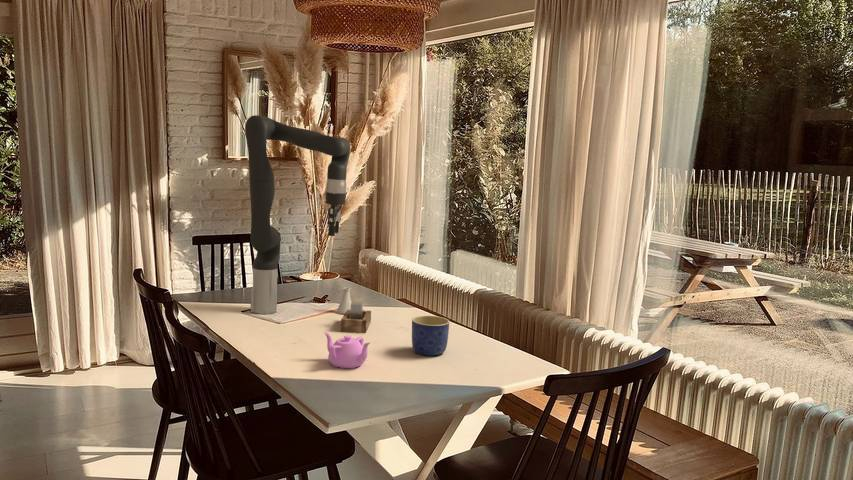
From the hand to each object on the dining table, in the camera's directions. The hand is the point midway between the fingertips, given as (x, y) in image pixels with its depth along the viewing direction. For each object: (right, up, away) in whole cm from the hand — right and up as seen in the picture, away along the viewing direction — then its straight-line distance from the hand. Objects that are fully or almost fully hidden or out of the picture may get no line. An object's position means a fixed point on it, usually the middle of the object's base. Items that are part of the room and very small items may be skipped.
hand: (333, 234), depth 264 cm
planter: (+36, -40, -30) cm, 61 cm away
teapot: (+10, -41, -46) cm, 62 cm away
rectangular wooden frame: (+9, -34, -5) cm, 36 cm away
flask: (+3, -31, +15) cm, 35 cm away
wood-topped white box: (+9, -34, -5) cm, 36 cm away
